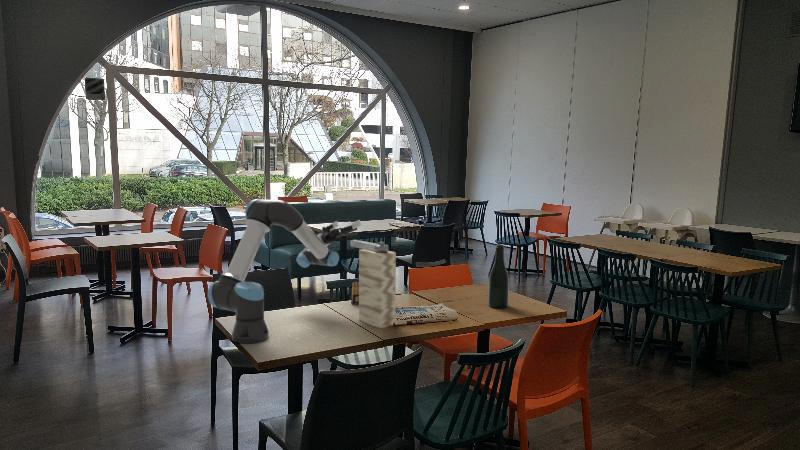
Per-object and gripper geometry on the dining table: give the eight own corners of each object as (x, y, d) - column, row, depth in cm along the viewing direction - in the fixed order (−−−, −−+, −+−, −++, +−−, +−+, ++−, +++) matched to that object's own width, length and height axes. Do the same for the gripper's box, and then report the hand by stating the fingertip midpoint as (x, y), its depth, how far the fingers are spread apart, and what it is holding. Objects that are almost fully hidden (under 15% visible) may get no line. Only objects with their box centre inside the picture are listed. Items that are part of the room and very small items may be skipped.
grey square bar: (380, 253, 250) (380, 243, 250) (347, 246, 269) (347, 237, 269) (391, 252, 254) (391, 242, 254) (358, 245, 273) (358, 236, 273)
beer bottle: (509, 309, 287) (511, 246, 283) (489, 308, 287) (491, 245, 283) (506, 303, 297) (508, 243, 294) (486, 303, 298) (488, 242, 294)
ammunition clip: (352, 304, 293) (352, 282, 292) (350, 303, 295) (350, 281, 294) (370, 302, 299) (370, 280, 297) (368, 301, 300) (368, 279, 299)
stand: (380, 328, 252) (380, 254, 248) (358, 320, 264) (359, 249, 260) (395, 324, 258) (395, 252, 254) (373, 317, 270) (374, 248, 266)
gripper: (304, 231, 279) (325, 216, 264) (344, 229, 295) (367, 214, 280) (307, 246, 277) (329, 231, 262) (348, 242, 293) (370, 228, 278)
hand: (348, 222), depth 271 cm, fingers open, 13 cm apart
